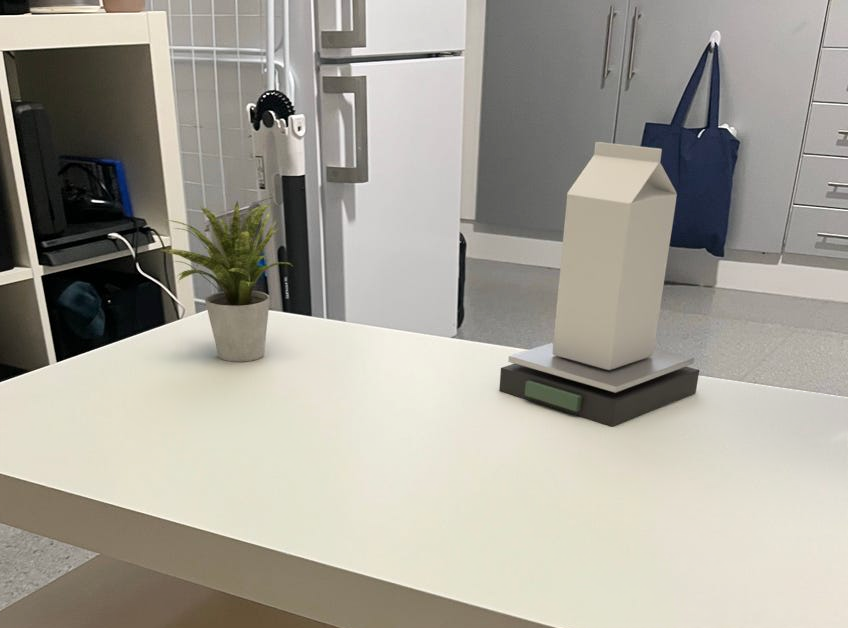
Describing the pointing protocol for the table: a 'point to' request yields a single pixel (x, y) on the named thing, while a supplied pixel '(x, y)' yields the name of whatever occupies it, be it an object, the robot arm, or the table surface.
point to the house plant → (235, 284)
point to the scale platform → (597, 376)
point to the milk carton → (614, 257)
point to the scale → (598, 393)
